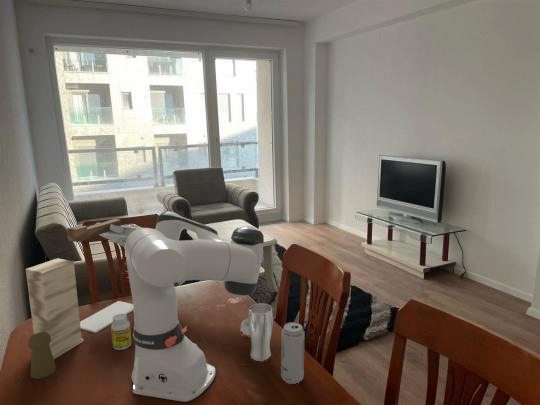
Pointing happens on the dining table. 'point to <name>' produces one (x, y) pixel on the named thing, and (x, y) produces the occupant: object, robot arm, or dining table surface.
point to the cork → (41, 355)
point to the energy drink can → (292, 353)
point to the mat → (105, 316)
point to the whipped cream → (245, 327)
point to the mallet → (89, 230)
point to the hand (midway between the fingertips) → (104, 225)
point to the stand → (55, 303)
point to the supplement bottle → (121, 332)
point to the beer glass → (260, 330)
